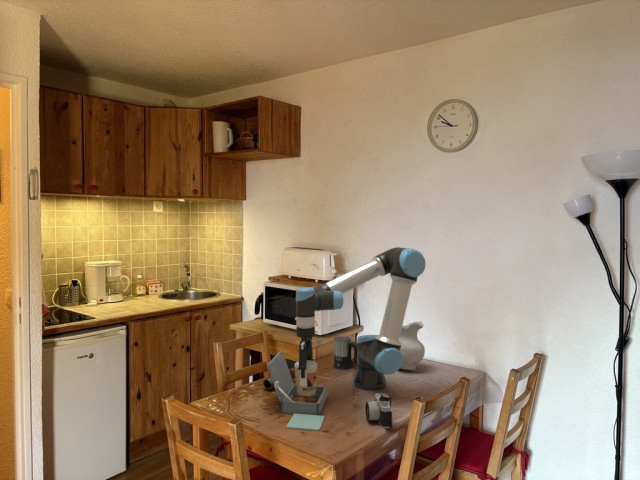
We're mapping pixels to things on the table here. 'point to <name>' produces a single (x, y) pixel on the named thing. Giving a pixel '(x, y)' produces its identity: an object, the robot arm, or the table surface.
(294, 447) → the table surface
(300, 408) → the equipment case
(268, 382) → the metal pipe
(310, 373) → the coffee cup
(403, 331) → the ceramic pitcher
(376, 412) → the camera
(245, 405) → the table surface
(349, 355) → the milk frother
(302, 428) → the mat
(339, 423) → the table surface
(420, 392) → the table surface
